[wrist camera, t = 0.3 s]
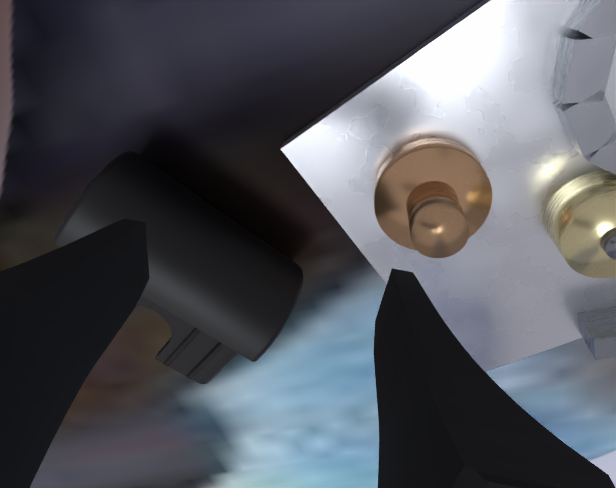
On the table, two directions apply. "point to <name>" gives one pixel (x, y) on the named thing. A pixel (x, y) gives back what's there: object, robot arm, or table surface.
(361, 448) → the table surface
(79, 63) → the table surface
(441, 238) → the gear
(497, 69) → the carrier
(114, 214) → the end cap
